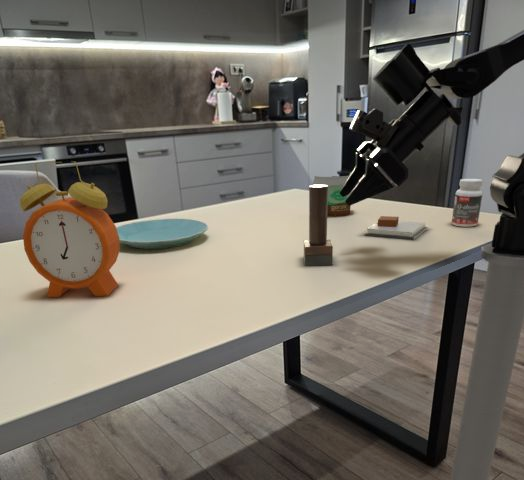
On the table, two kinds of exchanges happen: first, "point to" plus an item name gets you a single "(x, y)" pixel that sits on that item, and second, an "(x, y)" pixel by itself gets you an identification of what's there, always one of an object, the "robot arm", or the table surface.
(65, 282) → the alarm clock
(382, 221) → the reddish brown square block
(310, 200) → the brush
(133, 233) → the plate
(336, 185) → the food container
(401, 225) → the tile
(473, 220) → the pill bottle
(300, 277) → the table surface
